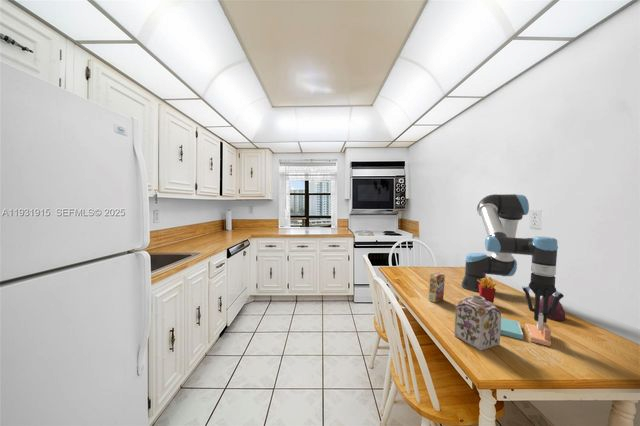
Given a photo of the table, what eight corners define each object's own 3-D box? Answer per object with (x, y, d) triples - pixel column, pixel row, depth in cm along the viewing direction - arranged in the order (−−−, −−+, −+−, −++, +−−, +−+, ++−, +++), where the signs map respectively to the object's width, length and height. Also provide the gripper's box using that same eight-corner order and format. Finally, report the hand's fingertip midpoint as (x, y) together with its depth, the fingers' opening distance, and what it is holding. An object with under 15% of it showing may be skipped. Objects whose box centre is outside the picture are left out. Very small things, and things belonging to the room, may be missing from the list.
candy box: (435, 302, 135) (436, 276, 134) (428, 300, 138) (429, 274, 138) (444, 299, 140) (445, 273, 139) (437, 297, 143) (438, 272, 142)
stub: (525, 327, 109) (525, 314, 109) (542, 331, 106) (543, 318, 106) (530, 341, 98) (531, 327, 97) (550, 346, 94) (551, 332, 94)
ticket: (486, 318, 117) (487, 314, 117) (518, 325, 111) (518, 321, 110) (487, 330, 106) (487, 326, 106) (523, 339, 99) (523, 335, 99)
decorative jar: (453, 335, 101) (455, 293, 100) (471, 330, 106) (473, 290, 105) (482, 352, 90) (484, 305, 89) (501, 345, 95) (503, 300, 94)
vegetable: (538, 322, 121) (529, 293, 122) (538, 313, 129) (530, 285, 129) (567, 324, 114) (558, 294, 114) (566, 315, 121) (557, 286, 122)
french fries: (495, 307, 131) (496, 280, 130) (477, 304, 133) (479, 278, 133) (489, 301, 139) (491, 275, 138) (473, 299, 142) (474, 273, 141)
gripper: (524, 273, 101) (520, 328, 102) (567, 279, 93) (563, 338, 94) (521, 269, 107) (518, 321, 108) (562, 274, 100) (558, 330, 101)
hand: (539, 329), depth 101 cm, fingers closed
